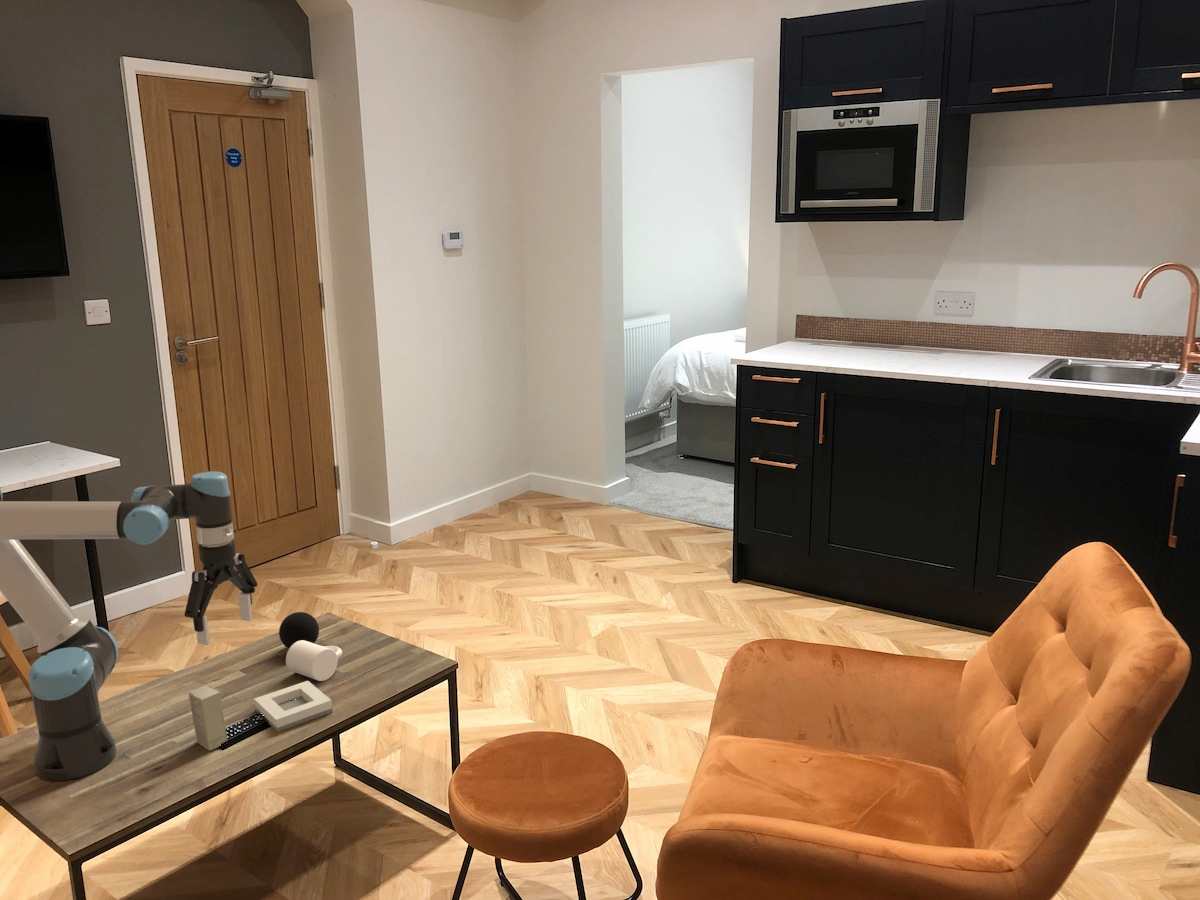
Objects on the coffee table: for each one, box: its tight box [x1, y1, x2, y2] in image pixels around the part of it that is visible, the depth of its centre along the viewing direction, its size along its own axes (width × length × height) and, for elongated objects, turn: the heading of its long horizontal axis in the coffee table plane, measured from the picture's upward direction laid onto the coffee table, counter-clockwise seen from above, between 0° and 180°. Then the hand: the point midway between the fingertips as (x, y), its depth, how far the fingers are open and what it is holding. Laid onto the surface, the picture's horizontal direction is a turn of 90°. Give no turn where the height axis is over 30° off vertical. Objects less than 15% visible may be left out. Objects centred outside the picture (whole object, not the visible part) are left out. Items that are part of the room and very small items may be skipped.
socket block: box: [253, 680, 334, 733], centre depth 223 cm, size 13×13×3 cm
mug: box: [285, 640, 343, 682], centre depth 242 cm, size 12×10×8 cm
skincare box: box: [188, 684, 228, 751], centre depth 210 cm, size 6×4×12 cm
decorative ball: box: [278, 611, 320, 649], centre depth 255 cm, size 10×10×10 cm
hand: (225, 631), depth 219 cm, fingers open, 13 cm apart
